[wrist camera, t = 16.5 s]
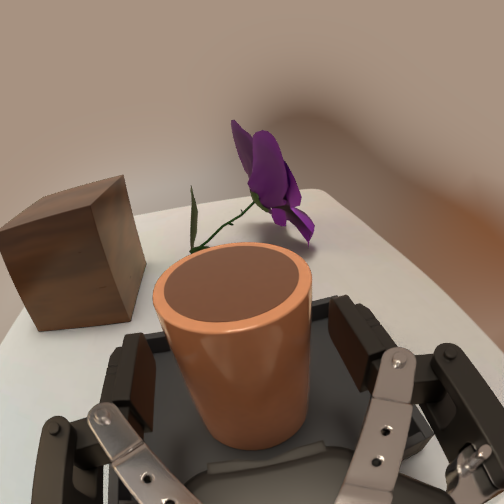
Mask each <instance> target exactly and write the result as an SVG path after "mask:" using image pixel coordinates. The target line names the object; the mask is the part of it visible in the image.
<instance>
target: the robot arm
mask: <svg viewBox="0 0 504 504" xmlns="http://www.w3.org/2000/svg"><path fill="white" fill-rule="evenodd" d="M328 331H329V335H330V338H331V340H332V342H333V344H334V346H335V347H336V349H337V351H338V353H339V355H340V357H341V358H342V360H343V362H344V364H345V366H346V368H347V370H348V372H349V373H350V375H351V377H352V379H353V381H354V383H355V385H356V387H357V388H358V390H359V392H360V393H361V392H364V391H367V390H369V392H370V394H371V397H370V400H369V403H368V407H367V410H366V413H365V416H364V420H363V423H362V426H361V429H360V432H359V435H358V437H357V440H356V443H355V446H354V448H353V450H352V449H349V448H345V447H339V446H326V445H325V443H324V440H321V441H317V442H314V443H310V444H306V445H302V446H299V447H295V448H293V449H291V450H289V451H287V452H285V453H283V454H280V455H278V456H276V457H274V458H272V459H269V460H240V459H233V460H226V461H219V462H210V463H207V470H205V471H203V472H201V473H198V474H196V475H195V476H193V477H192V478H190V479H189V480H188V481H186V482H185V483H184V484H183V483H182V482H181V481H180V480H179V479H178V478H177V477H176V476H175V475H174V474H173V473H172V472H171V471H170V470H169V469H168V468H167V467H166V466H165V464H164V463H163V462H162V461H161V460H160V459H159V458H158V457H157V456H156V454H155V453H154V452H153V451H152V450H151V449H150V448H149V446H148V445H147V444H146V443H145V442H144V433H149V432H153V415H154V397H155V382H156V362H155V359H154V356H153V354H152V352H151V349H150V347H149V345H148V343H147V340H146V338H145V336H144V334H143V333H134V334H126V335H125V337H124V340H123V345H122V347H116V349H115V350H114V352H113V353H112V354H111V356H110V359H109V363H108V368H107V371H106V376H105V380H104V385H103V389H102V394H101V399H100V403H99V404H97V405H95V406H94V407H93V408H92V409H91V410H90V411H89V413H88V416H87V417H86V418H83V419H80V420H77V421H73V422H69V421H68V420H67V419H66V418H64V417H62V416H54V417H52V418H50V419H48V420H47V421H46V422H45V424H44V426H43V428H42V433H41V438H40V443H39V448H38V454H37V460H36V466H35V473H34V480H33V489H32V499H31V504H103V466H104V465H106V464H109V463H110V464H111V466H112V468H113V470H114V471H115V472H116V474H117V475H118V477H119V478H120V479H121V481H122V482H123V483H124V485H125V486H126V487H127V489H128V490H129V491H130V493H131V494H132V495H133V496H134V498H135V499H136V500H137V501H138V503H139V504H484V503H486V502H487V501H489V500H491V499H492V498H494V497H495V496H497V495H499V494H500V493H502V492H503V491H504V408H503V406H502V405H501V403H500V402H499V400H498V399H497V397H496V396H495V394H494V393H493V391H492V390H491V389H490V387H489V386H488V384H487V383H486V381H485V380H484V379H483V377H482V376H481V375H480V373H479V372H478V370H477V369H476V368H475V366H474V365H473V364H472V362H471V361H470V360H469V358H468V357H467V356H466V355H465V353H464V352H463V351H462V349H461V348H460V347H458V346H457V345H455V344H452V343H443V344H440V345H438V346H437V347H436V349H435V351H434V353H433V354H426V355H414V354H413V353H412V352H411V351H409V350H408V349H405V348H402V347H397V345H396V344H395V343H394V341H393V340H392V339H391V337H390V336H389V334H388V333H387V332H386V330H385V329H384V328H383V326H382V325H380V322H379V321H378V320H377V319H376V318H375V316H374V315H373V313H372V312H371V311H370V309H368V308H367V307H365V306H363V305H362V304H360V303H359V304H356V305H355V304H354V303H353V302H352V300H351V299H350V298H349V296H348V295H344V296H339V297H335V298H331V299H330V300H329V313H328ZM413 404H419V406H420V407H421V409H422V411H423V413H424V415H425V417H426V418H427V420H428V422H429V424H430V426H431V428H432V430H433V432H434V434H435V436H436V437H437V439H438V441H439V443H440V445H441V447H442V449H443V451H444V453H445V455H446V457H447V459H448V461H449V463H450V464H449V465H448V467H447V469H446V472H445V478H446V483H447V490H446V492H445V491H443V490H441V489H439V488H436V487H434V486H431V485H429V484H426V483H424V482H421V481H419V480H417V479H414V478H412V477H410V476H407V475H405V474H403V473H401V472H399V469H400V465H401V461H402V457H403V453H404V449H405V445H406V441H407V436H408V432H409V427H410V422H411V416H412V411H413Z"/></svg>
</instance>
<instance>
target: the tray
mask: <svg viewBox="0 0 504 504" xmlns="http://www.w3.org/2000/svg"><path fill="white" fill-rule="evenodd" d="M335 297H338V296H337V295H336V296H332V297H328V298H324V299H320V300H316V301H312V339H311V369H310V391H309V408H308V413H307V416H306V419H305V421H304V423H303V424H302V426H301V427H300V429H299V430H298V431H297V432H296V433H295V434H294V435H293V436H292V437H290V438H289V439H287V440H286V441H284V442H282V443H281V444H279V445H276V446H273V447H271V448H267V449H262V450H241V449H236V448H232V447H229V446H227V445H225V444H223V443H221V442H219V441H218V440H216V439H215V438H214V437H213V436H212V435H211V434H210V433H209V432H208V431H207V429H206V428H205V426H204V424H203V422H202V420H201V418H200V416H199V414H198V412H197V410H196V408H195V405H194V403H193V401H192V399H191V397H190V395H189V392H188V390H187V388H186V386H185V383H184V381H183V379H182V376H181V374H180V372H179V369H178V367H177V365H176V362H175V360H174V357H173V355H172V352H171V350H170V347H169V345H168V342H167V340H166V337H165V335H164V332H157V333H151V334H144V336H145V338H146V340H147V343H148V345H149V347H150V349H151V352H152V354H153V356H154V359H155V362H156V382H155V397H154V415H153V432H149V433H144V442H145V443H146V444H147V445H148V446H149V448H150V449H151V450H152V451H153V452H154V453H155V454H156V456H157V457H158V458H159V459H160V460H161V461H162V462H163V463H164V464H165V466H166V467H167V468H168V469H169V470H170V471H171V472H172V473H173V474H174V475H175V476H176V477H177V478H178V479H179V480H180V481H181V482H182V483H183V484H184V483H185V482H186V481H188V480H189V479H190V478H192V477H193V476H195V475H196V474H198V473H201V472H203V471H205V470H207V463H210V462H219V461H226V460H233V459H240V460H269V459H272V458H274V457H276V456H278V455H280V454H283V453H285V452H287V451H289V450H291V449H293V448H295V447H299V446H302V445H306V444H310V443H314V442H317V441H321V440H324V443H325V445H326V446H339V447H345V448H349V449H352V450H353V448H354V446H355V443H356V440H357V437H358V435H359V432H360V429H361V426H362V423H363V420H364V416H365V413H366V410H367V407H368V403H369V400H370V397H371V394H370V392H369V390H367V391H364V392H361V393H360V392H359V390H358V388H357V387H356V385H355V383H354V381H353V379H352V377H351V375H350V373H349V372H348V370H347V368H346V366H345V364H344V362H343V360H342V358H341V357H340V355H339V353H338V351H337V349H336V347H335V346H334V344H333V342H332V340H331V338H330V335H329V331H328V313H329V300H330V299H331V298H335ZM433 435H434V432H433V431H432V429H431V428H430V426H429V425H428V423H427V422H426V420H425V419H424V417H423V416H422V414H421V413H420V411H419V410H418V408H417V407H416V405H415V404H413V411H412V416H411V422H410V427H409V432H408V436H407V441H406V445H405V449H404V453H403V457H402V460H404V459H406V458H408V457H410V456H412V455H413V454H415V453H417V452H419V451H421V450H422V449H423V448H424V447H425V445H426V444H427V443H428V442H429V440H430V439H431V438H432V436H433ZM108 504H139V503H138V501H137V500H136V499H135V498H134V496H133V495H132V494H131V493H130V491H129V490H128V489H127V487H126V486H125V485H124V483H123V482H122V481H121V479H120V478H119V477H118V475H117V474H116V472H115V471H114V470H113V468H112V466H111V464H110V463H109V485H108Z"/></svg>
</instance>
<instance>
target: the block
mask: <svg viewBox="0 0 504 504" xmlns="http://www.w3.org/2000/svg"><path fill="white" fill-rule="evenodd" d="M0 252H1V255H2V257H3V260H4V262H5V265H6V267H7V269H8V272H9V274H10V276H11V278H12V280H13V283H14V285H15V287H16V289H17V291H18V293H19V295H20V297H21V299H22V301H23V303H24V305H25V307H26V309H27V311H28V313H29V315H30V317H31V319H32V320H33V322H34V324H35V326H36V328H37V329H38V331H50V330H60V329H70V328H80V327H89V326H97V325H106V324H114V323H122V322H129V321H131V317H132V313H133V309H134V306H135V302H136V298H137V294H138V291H139V287H140V283H141V280H142V276H143V273H144V269H145V266H146V261H145V257H144V254H143V250H142V247H141V243H140V240H139V236H138V232H137V229H136V225H135V221H134V217H133V213H132V209H131V205H130V201H129V197H128V193H127V189H126V184H125V179H124V175H120V176H116V177H112V178H108V179H104V180H100V181H96V182H92V183H89V184H85V185H82V186H78V187H75V188H71V189H67V190H64V191H61V192H58V193H54V194H51V195H48V196H45V197H42V198H41V199H39V200H38V201H36V202H35V203H34V204H32V205H31V206H29V207H28V208H27V209H25V210H24V211H22V212H21V213H20V214H18V215H17V216H16V217H14V218H13V219H12V220H10V221H9V222H8V223H6V224H5V225H4V226H3V227H1V228H0Z"/></svg>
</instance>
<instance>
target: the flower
mask: <svg viewBox="0 0 504 504" xmlns="http://www.w3.org/2000/svg"><path fill="white" fill-rule="evenodd" d="M231 127H232V133H233V138H234V141H235V145H236V148H237V152H238V155H239V158H240V160H241V162H242V165H243V167H244V170H245V171H246V173H247V174H248V177H249V181H248V185H249V187H250V193H251V197H252V200H253V202H252V203H251V204H250V205H249V206H248V207H247V208H246V209H245V210H244V211H243V212H242V210H241V212H242V213H241V214H240V215H239V216H237V217H235V218H233V219H232V220H230V221H228V222H227V223H225V224H223V225H222V226H221V227H220V228H219V229H218V230H217V231H216V232H215V233H214V234H213V235H212V236H211V237H210V238H209V239H208V240H207V241H205V242H204V243H203V244H202V245H200V246H199V247H194V241H195V237H196V233H197V217H198V210H197V206H196V202H195V198H194V195H193V191H192V186H191V196H192V208H191V227H190V245H191V250H190V251H189V252H190V253H191V254H193V253H195V252H198V251H200V250H204V249H207V248H210V247H209V246H204V245H205V244H206V243H208V242H209V241H210V240H211V239H212V238H213V237H214V236H215V235H216V234H217V233H218V232H219V231H220V230H221V229H222V228H223V227H224V226H226V225H228V224H229V225H233V224H232V223H231V222H233V221H234V220H236V219H238V218H239V217H241V216H242V215H243V214H244V213H245V212H246V211H247V210H248V209H249V208H250V207H251V206H252V205H253V204H254V203H256V204H257V206H258V207H260V208H261V209H262V210H264V211H265V212H268V213H270V214H272V218H273V220H274V222H275V224H277V225H280V226H286V220H289V221H290V222H291V223H292V224H294V225H295V226H296V227H297V229H298V230H299V231H300V233H301V234H302V235H303V237H304V238H305V239H306V241H307V242H308V247H309V241H310V239H311V237H312V235H313V232H314V227H315V225H314V224H313V222H312V220H311V219H310V218H309V217H308V215H307V214H306V213H305V212H303V211H301V210H299V209H297V208H295V207H296V206H300V203H301V198H302V197H301V194H300V191H299V189H298V186H297V183H296V181H295V178H294V176H293V175H292V173H291V171H290V169H289V167H288V165H287V163H286V162H285V161H284V160H283V157H282V154H281V151H280V148H279V145H278V143H277V141H276V140H275V138H274V136H273V135H272V134H270V133H269V132H268V131H263V130H262V131H259V132H256V133H255V134H254V135H253V138H252V137H251V135H250V134H249V133H248V132H246V131H245V130H243V129H242V128H241V126H240V125H239V124H238V123H237V122H236V121H235V120H231ZM271 208H272V210H271ZM193 247H194V248H193Z"/></svg>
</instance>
